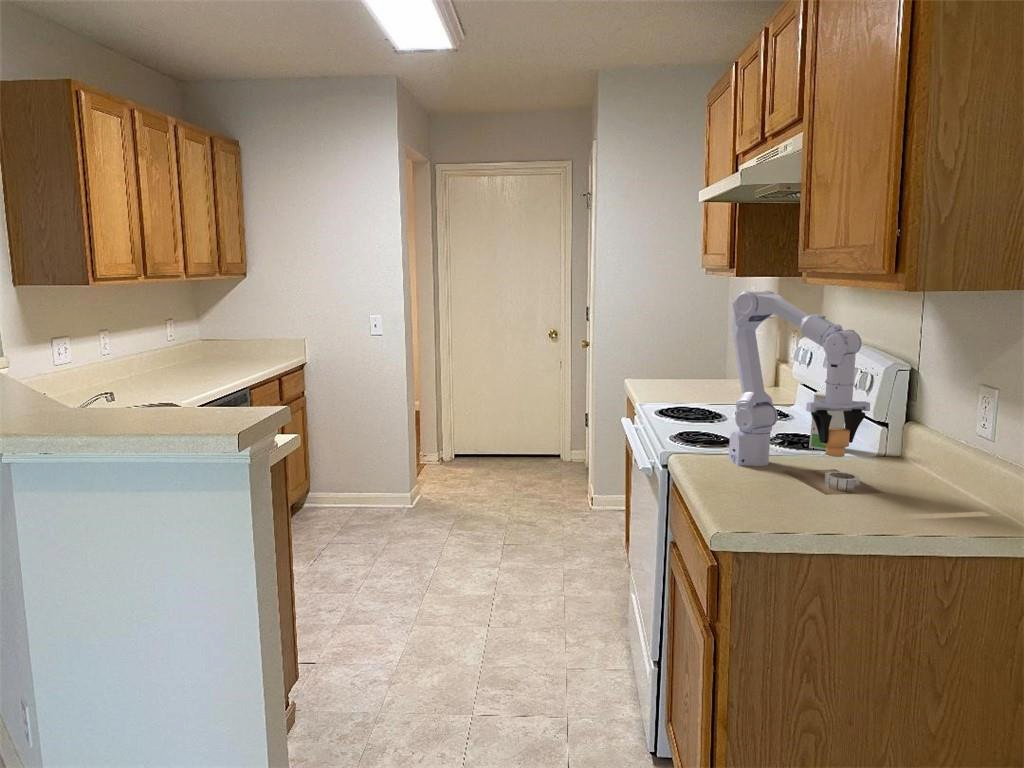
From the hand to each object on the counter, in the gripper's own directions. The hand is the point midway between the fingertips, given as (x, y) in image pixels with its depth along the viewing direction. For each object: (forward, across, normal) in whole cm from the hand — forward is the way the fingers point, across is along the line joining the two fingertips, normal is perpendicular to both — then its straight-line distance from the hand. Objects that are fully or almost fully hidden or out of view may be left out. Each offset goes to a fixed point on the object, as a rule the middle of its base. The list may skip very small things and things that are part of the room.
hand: (835, 442), depth 177 cm
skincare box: (+10, +19, +36) cm, 42 cm away
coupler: (+3, 0, 0) cm, 3 cm away
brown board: (+10, 0, +1) cm, 10 cm away
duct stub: (+10, 0, -4) cm, 10 cm away
